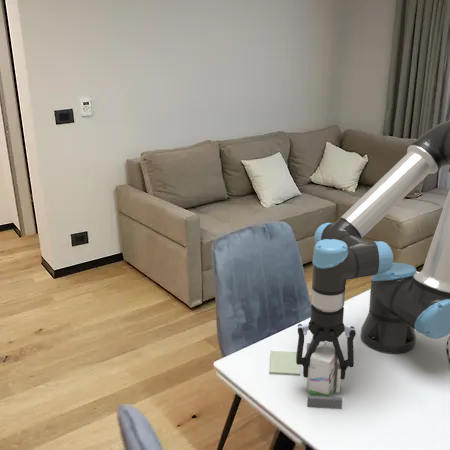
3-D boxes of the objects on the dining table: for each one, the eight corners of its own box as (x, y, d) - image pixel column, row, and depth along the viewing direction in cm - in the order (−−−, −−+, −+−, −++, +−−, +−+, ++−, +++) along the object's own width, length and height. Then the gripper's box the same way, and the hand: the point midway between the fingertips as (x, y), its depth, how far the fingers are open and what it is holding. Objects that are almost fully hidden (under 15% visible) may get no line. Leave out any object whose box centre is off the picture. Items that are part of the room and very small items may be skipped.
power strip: (332, 344, 148) (333, 333, 147) (341, 409, 122) (342, 395, 121) (304, 343, 149) (304, 332, 148) (307, 406, 123) (308, 393, 122)
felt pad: (299, 354, 144) (299, 352, 144) (300, 375, 134) (300, 373, 134) (270, 352, 145) (270, 350, 145) (269, 373, 135) (269, 371, 135)
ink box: (327, 404, 123) (330, 362, 120) (307, 398, 126) (309, 356, 122) (337, 384, 131) (339, 344, 127) (318, 379, 133) (320, 339, 129)
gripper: (367, 299, 123) (360, 381, 130) (286, 296, 125) (284, 376, 132) (372, 314, 116) (364, 400, 123) (285, 310, 118) (283, 395, 125)
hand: (323, 388), depth 128 cm, fingers closed on ink box, 6 cm apart
